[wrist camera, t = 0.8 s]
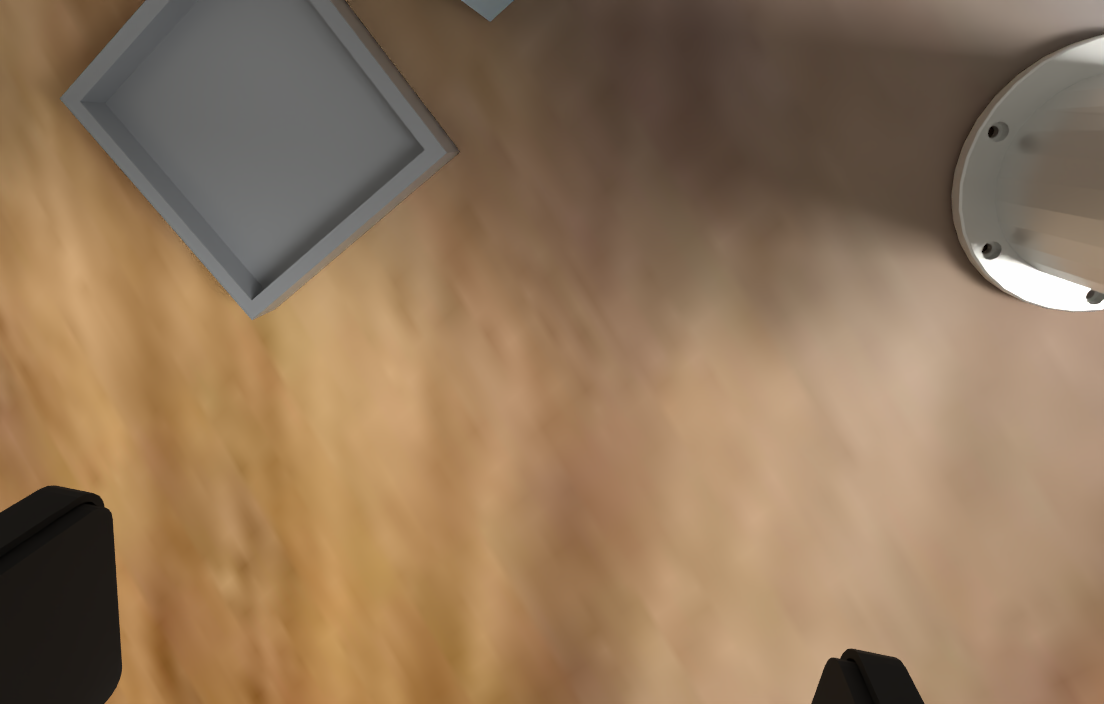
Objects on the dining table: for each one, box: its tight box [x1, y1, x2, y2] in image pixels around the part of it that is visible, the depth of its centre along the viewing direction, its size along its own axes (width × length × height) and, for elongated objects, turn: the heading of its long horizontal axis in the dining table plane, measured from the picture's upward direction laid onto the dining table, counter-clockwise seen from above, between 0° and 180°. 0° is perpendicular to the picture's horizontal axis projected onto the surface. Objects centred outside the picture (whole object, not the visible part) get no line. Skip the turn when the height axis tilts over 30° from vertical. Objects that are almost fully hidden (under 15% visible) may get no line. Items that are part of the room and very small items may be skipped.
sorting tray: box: [60, 0, 460, 320], centre depth 35 cm, size 15×15×2 cm
